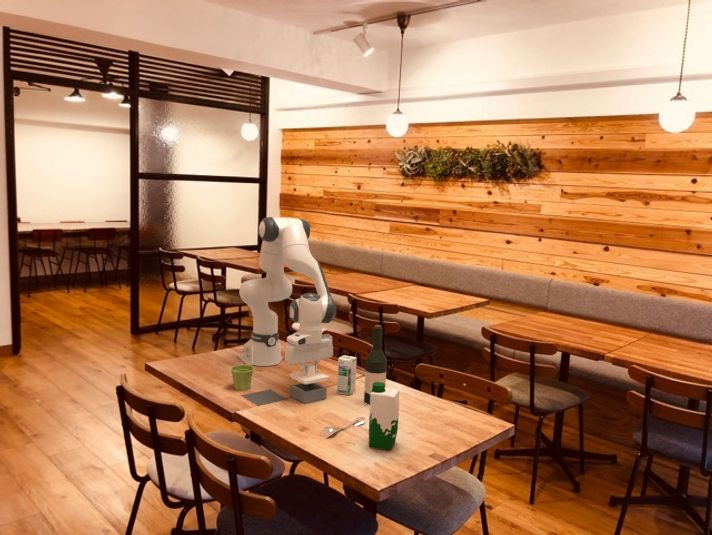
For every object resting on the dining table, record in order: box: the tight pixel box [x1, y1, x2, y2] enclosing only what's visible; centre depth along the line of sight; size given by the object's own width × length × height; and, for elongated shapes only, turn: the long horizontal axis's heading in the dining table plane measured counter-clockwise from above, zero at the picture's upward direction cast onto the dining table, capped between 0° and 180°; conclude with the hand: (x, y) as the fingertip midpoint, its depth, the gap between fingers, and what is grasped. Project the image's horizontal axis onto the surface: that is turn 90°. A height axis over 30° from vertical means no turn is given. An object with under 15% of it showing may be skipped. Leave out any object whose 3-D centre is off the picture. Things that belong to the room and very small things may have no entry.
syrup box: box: [336, 354, 358, 396], centre depth 240 cm, size 6×6×14 cm
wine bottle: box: [363, 324, 388, 406], centre depth 230 cm, size 8×8×30 cm
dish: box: [289, 382, 328, 405], centre depth 231 cm, size 10×10×5 cm
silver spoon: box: [320, 416, 366, 439], centre depth 205 cm, size 20×4×5 cm
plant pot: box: [229, 364, 255, 391], centre depth 239 cm, size 9×9×9 cm
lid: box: [288, 363, 330, 385], centre depth 230 cm, size 11×11×5 cm
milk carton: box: [368, 382, 400, 451], centre depth 192 cm, size 9×9×20 cm
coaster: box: [241, 389, 288, 407], centre depth 230 cm, size 13×13×1 cm
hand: (309, 371), depth 230 cm, fingers closed on lid, 3 cm apart
